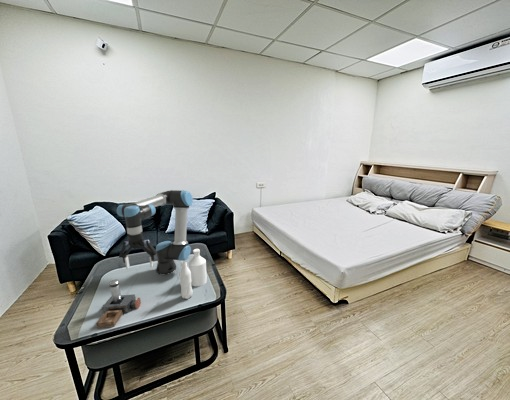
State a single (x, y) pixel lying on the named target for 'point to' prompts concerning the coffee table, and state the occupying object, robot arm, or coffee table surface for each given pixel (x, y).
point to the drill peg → (115, 291)
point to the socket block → (122, 306)
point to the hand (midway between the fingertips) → (140, 266)
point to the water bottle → (185, 281)
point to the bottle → (198, 269)
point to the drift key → (135, 303)
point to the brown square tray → (109, 318)
